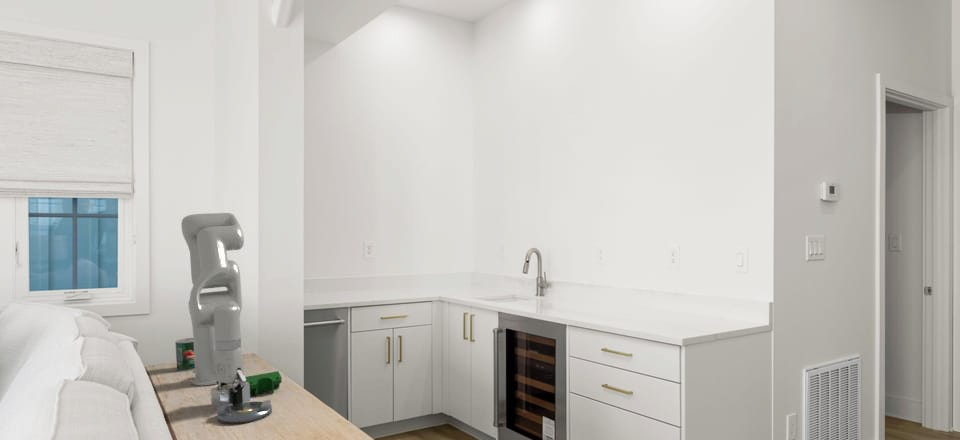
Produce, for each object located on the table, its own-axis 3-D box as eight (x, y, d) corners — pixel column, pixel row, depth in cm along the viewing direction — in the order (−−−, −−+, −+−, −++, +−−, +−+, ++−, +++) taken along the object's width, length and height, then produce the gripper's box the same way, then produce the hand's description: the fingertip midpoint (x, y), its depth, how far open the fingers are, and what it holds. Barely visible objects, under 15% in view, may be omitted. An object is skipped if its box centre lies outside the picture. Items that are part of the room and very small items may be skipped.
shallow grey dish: (211, 426, 172) (211, 416, 172) (224, 409, 187) (223, 399, 187) (267, 421, 174) (266, 410, 174) (275, 404, 189) (274, 394, 189)
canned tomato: (193, 370, 234) (191, 342, 234) (172, 371, 234) (171, 343, 234) (203, 365, 242) (201, 337, 242) (183, 366, 242) (181, 338, 242)
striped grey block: (211, 408, 189) (210, 388, 189) (241, 399, 197) (240, 380, 197) (220, 410, 186) (219, 391, 186) (250, 401, 194) (249, 382, 194)
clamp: (253, 409, 199) (241, 388, 195) (249, 400, 204) (238, 380, 200) (288, 390, 203) (277, 369, 199) (283, 381, 208) (272, 361, 204)
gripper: (201, 344, 193) (204, 401, 193) (233, 350, 183) (236, 410, 183) (222, 339, 199) (225, 394, 199) (255, 345, 189) (258, 402, 189)
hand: (231, 401), depth 191 cm, fingers open, 6 cm apart
